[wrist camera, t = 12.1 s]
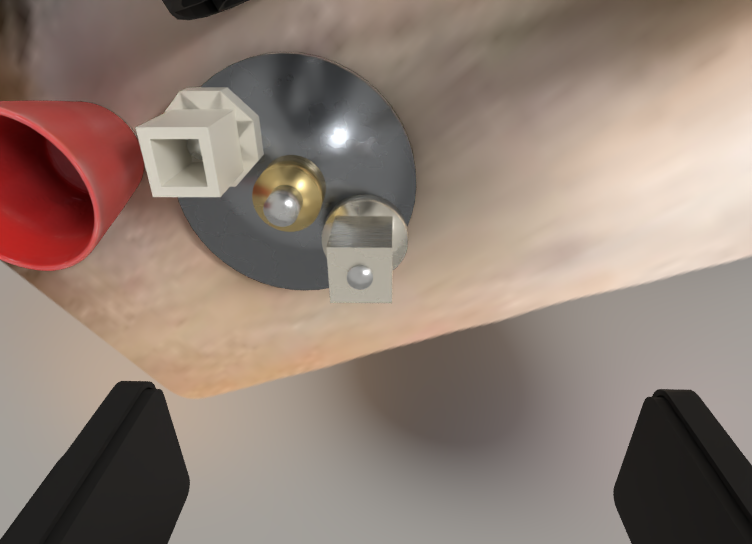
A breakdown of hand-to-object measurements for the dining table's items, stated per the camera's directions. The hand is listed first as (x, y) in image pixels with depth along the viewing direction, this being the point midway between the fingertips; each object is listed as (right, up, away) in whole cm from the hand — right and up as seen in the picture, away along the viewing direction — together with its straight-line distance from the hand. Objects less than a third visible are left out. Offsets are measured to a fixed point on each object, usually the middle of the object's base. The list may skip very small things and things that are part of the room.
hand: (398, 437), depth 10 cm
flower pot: (-23, +13, +29) cm, 39 cm away
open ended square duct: (-12, +13, +26) cm, 32 cm away
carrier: (-7, +11, +29) cm, 32 cm away
